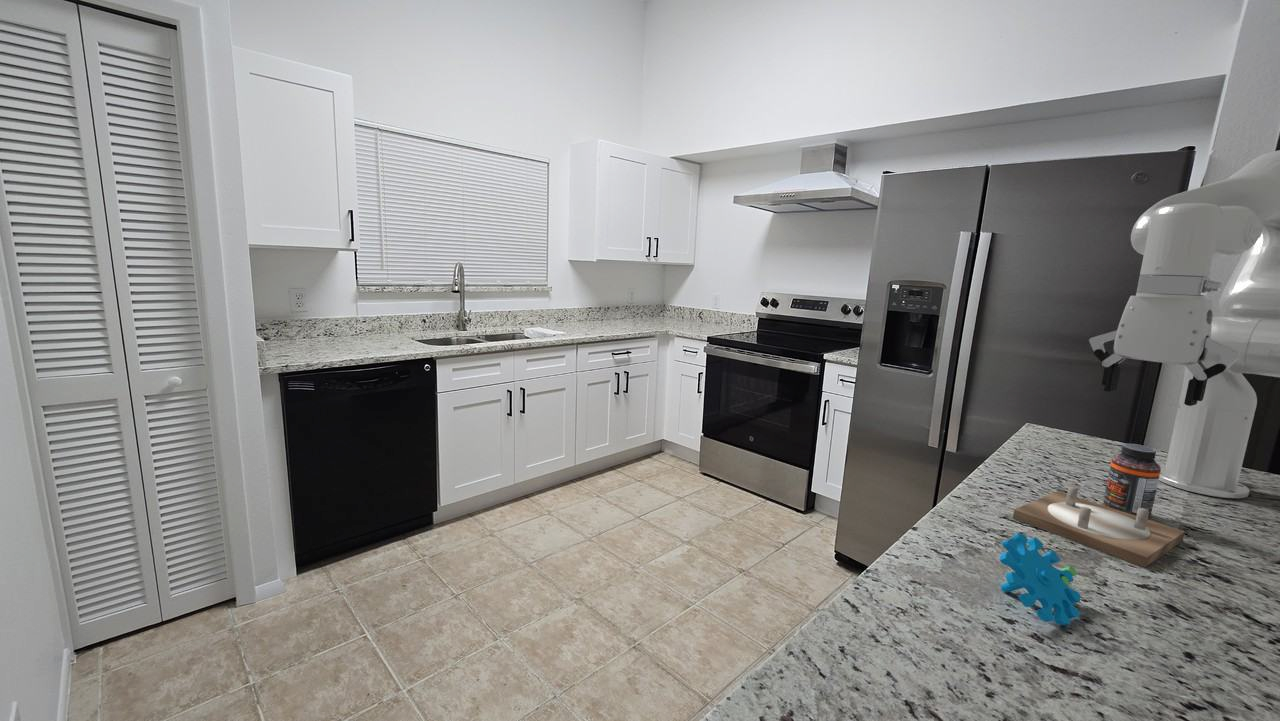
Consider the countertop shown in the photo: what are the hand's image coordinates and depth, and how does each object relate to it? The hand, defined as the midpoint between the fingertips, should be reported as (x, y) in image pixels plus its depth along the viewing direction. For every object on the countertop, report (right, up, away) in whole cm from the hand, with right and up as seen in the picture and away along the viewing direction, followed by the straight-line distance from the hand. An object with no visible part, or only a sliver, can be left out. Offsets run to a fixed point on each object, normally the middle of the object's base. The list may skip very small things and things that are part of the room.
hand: (1148, 397), depth 85 cm
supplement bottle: (0, -19, +4) cm, 20 cm away
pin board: (-11, -20, -3) cm, 23 cm away
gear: (-34, -23, -22) cm, 47 cm away
